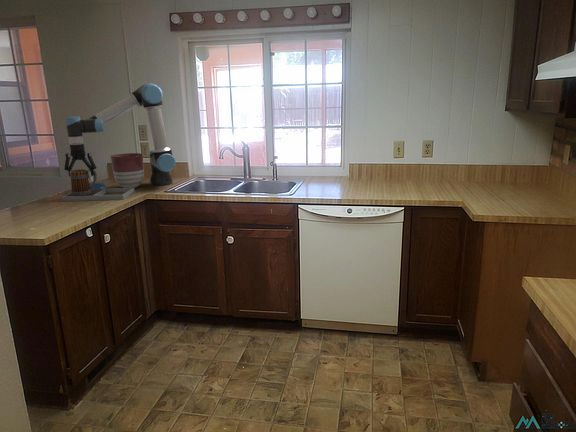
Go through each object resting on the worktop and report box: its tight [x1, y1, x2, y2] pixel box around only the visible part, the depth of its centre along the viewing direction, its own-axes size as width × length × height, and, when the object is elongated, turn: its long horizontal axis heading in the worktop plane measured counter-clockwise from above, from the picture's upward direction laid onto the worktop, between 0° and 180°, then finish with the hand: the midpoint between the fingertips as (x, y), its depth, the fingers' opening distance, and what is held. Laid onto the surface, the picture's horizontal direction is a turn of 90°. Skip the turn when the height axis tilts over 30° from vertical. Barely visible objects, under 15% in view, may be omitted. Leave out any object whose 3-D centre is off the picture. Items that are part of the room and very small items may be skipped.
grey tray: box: [60, 182, 135, 202], centre depth 255 cm, size 35×22×6 cm, turn 92°
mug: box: [69, 168, 97, 196], centre depth 253 cm, size 16×11×15 cm
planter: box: [110, 152, 145, 189], centre depth 275 cm, size 20×20×21 cm
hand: (82, 181), depth 253 cm, fingers closed on mug, 10 cm apart
